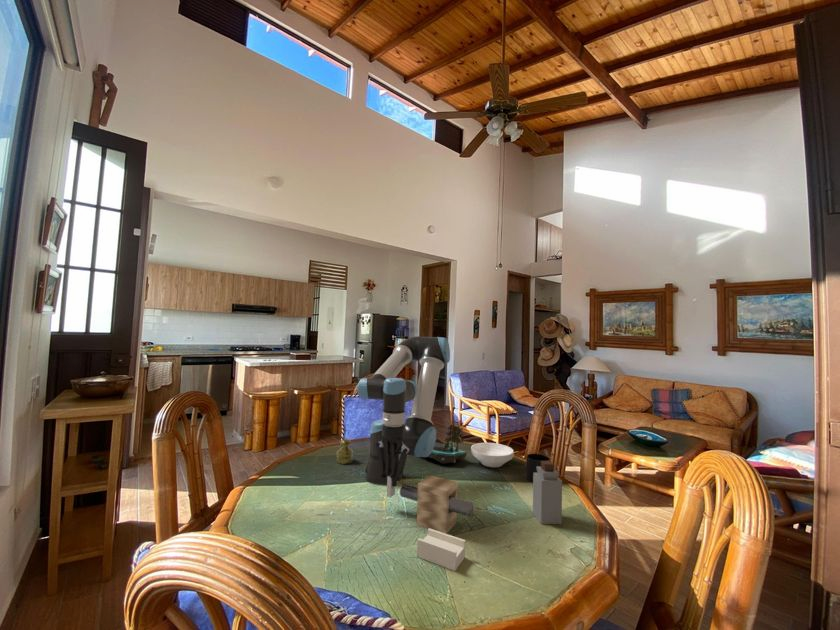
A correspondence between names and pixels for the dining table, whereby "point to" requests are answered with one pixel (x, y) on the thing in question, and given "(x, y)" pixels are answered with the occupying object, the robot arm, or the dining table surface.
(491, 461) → the bowl
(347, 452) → the olive ridged vase
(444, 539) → the cradle
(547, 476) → the perfume bottle
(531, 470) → the mug
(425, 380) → the robot arm
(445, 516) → the brown wooden block
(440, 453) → the diorama
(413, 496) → the axle
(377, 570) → the dining table surface
